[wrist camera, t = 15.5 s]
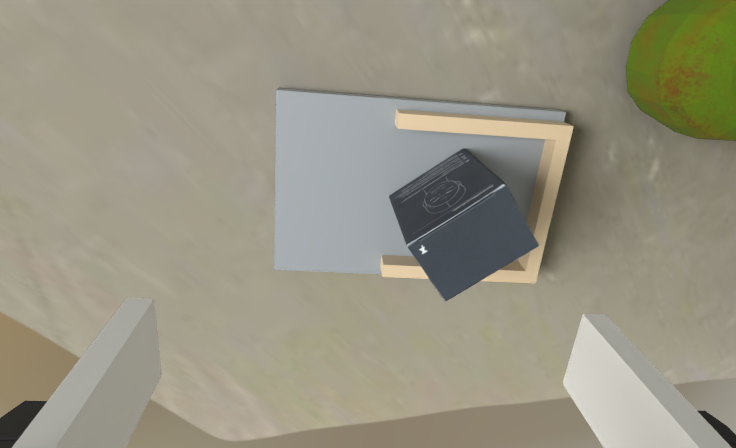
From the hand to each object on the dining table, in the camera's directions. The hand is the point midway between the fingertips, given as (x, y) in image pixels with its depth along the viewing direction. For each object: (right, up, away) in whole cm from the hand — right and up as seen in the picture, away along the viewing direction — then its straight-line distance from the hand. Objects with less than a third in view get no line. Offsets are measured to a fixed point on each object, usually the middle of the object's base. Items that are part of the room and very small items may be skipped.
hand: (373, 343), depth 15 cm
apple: (+26, +18, +26) cm, 41 cm away
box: (+6, +6, +28) cm, 29 cm away
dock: (+4, +7, +29) cm, 30 cm away
